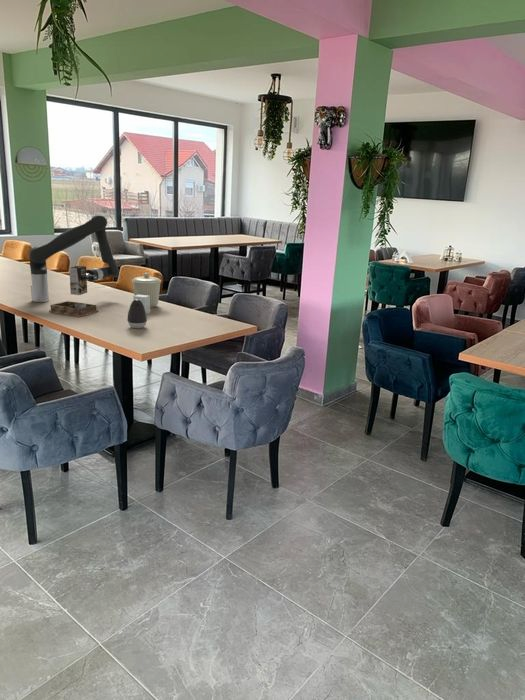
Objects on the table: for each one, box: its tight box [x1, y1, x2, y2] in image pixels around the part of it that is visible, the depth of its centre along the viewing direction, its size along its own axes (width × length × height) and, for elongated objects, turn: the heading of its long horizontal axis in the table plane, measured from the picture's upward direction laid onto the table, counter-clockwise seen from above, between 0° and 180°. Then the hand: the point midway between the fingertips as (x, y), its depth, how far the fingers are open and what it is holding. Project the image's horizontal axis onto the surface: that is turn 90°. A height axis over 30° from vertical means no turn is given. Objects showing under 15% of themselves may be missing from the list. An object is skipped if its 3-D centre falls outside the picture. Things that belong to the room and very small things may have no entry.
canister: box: [131, 272, 162, 309], centre depth 331 cm, size 18×18×21 cm
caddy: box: [48, 300, 99, 318], centre depth 311 cm, size 22×16×5 cm
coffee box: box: [69, 265, 88, 296], centre depth 319 cm, size 9×6×16 cm
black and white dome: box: [127, 299, 148, 329], centre depth 282 cm, size 10×10×15 cm
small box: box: [132, 294, 151, 315], centre depth 315 cm, size 8×6×10 cm
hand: (76, 278), depth 317 cm, fingers closed on coffee box, 7 cm apart
